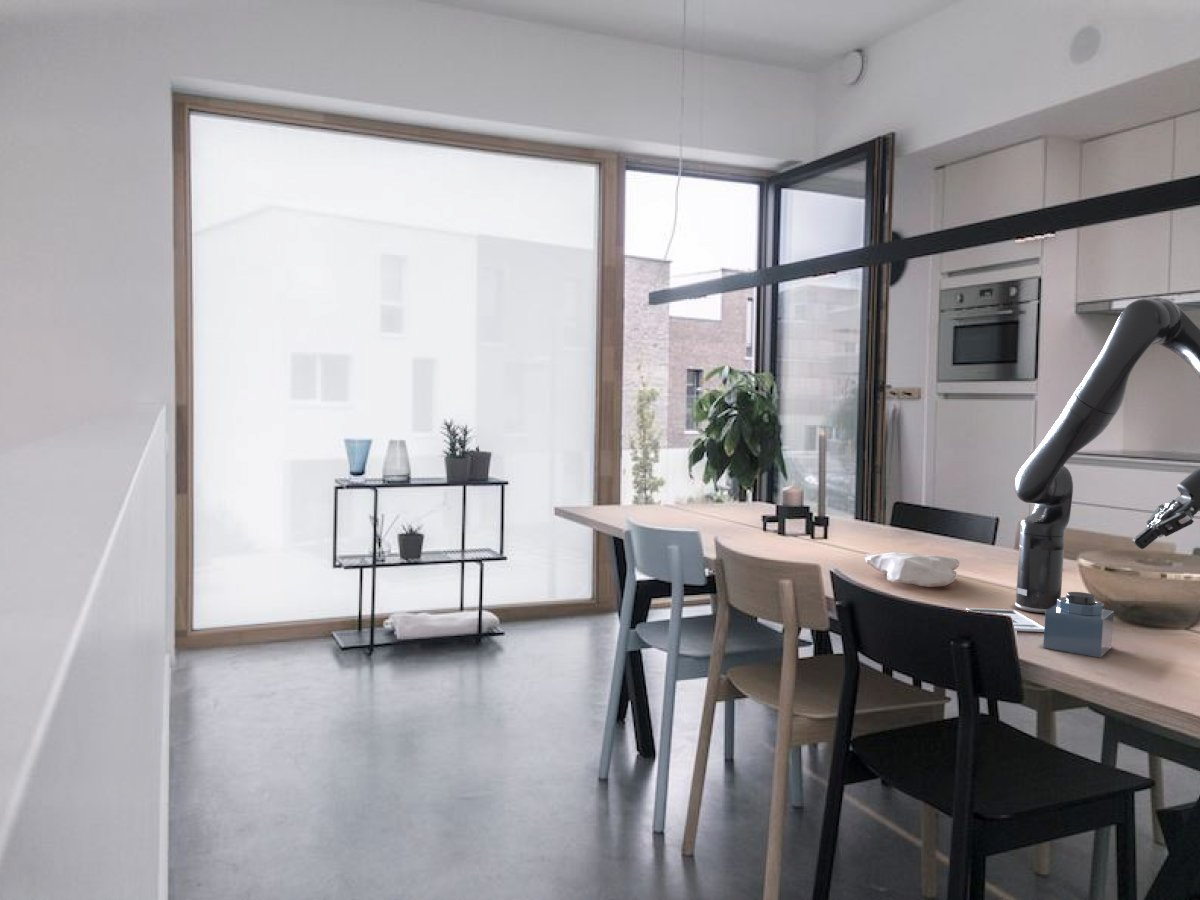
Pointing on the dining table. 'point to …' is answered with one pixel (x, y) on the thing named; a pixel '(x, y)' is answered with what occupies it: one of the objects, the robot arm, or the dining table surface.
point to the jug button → (1080, 598)
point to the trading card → (1015, 619)
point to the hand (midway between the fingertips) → (1136, 545)
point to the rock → (915, 568)
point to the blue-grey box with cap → (1078, 628)
